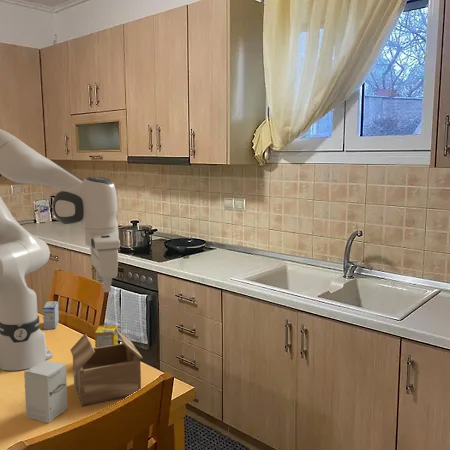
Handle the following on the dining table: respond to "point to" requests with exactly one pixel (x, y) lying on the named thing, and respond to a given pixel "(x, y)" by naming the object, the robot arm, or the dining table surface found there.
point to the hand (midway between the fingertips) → (104, 287)
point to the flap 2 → (128, 344)
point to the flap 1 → (82, 351)
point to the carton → (107, 375)
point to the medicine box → (50, 315)
